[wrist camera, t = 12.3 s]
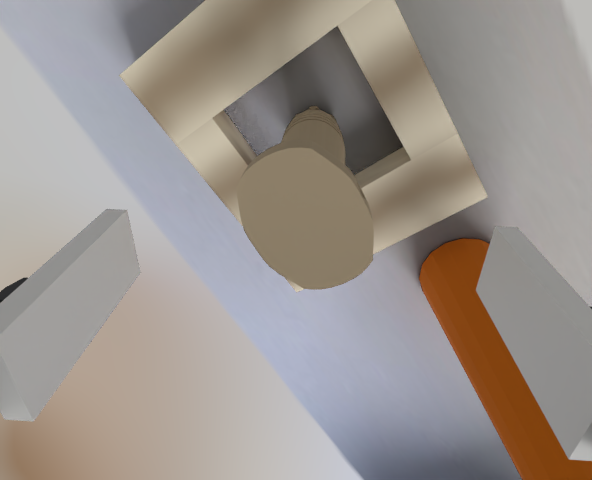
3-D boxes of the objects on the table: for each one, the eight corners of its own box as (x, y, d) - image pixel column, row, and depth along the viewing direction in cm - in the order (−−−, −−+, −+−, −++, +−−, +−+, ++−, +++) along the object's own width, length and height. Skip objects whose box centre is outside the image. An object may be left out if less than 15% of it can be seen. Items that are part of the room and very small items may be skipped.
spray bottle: (544, 296, 35) (957, 832, 12) (418, 307, 36) (578, 804, 14) (556, 226, 31) (1170, 795, 9) (417, 241, 33) (629, 763, 10)
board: (473, 180, 30) (487, 196, 27) (298, 271, 35) (296, 292, 32) (337, -102, 22) (339, -117, 19) (138, 69, 27) (119, 75, 25)
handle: (323, 68, 26) (324, 124, 14) (363, 150, 29) (395, 262, 16) (262, 104, 28) (211, 185, 15) (306, 179, 31) (294, 303, 18)
